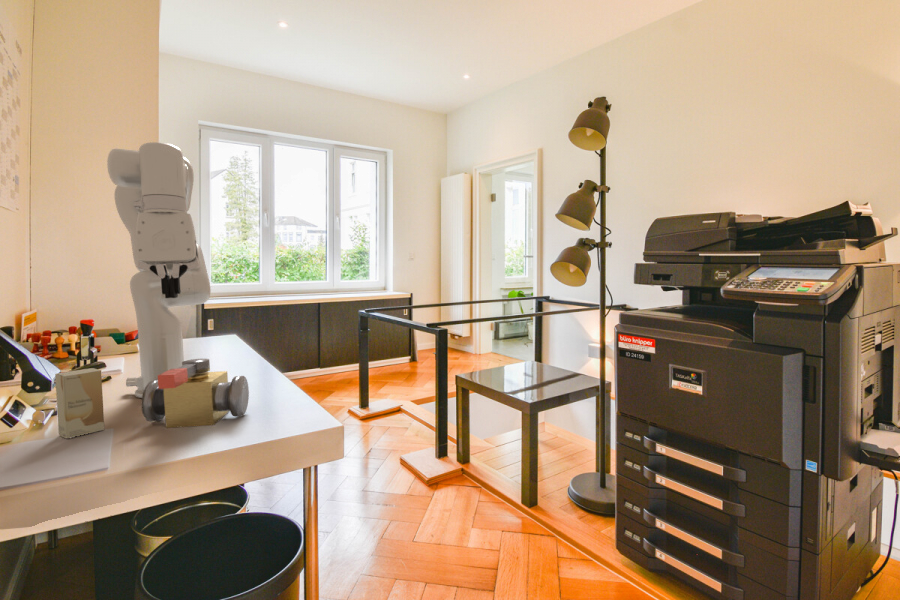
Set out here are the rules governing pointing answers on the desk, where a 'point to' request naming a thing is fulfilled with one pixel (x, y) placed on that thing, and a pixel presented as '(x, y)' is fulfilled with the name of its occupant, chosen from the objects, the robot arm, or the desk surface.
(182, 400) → the valve
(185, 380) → the lever
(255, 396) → the desk surface
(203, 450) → the desk surface
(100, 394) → the skincare box
